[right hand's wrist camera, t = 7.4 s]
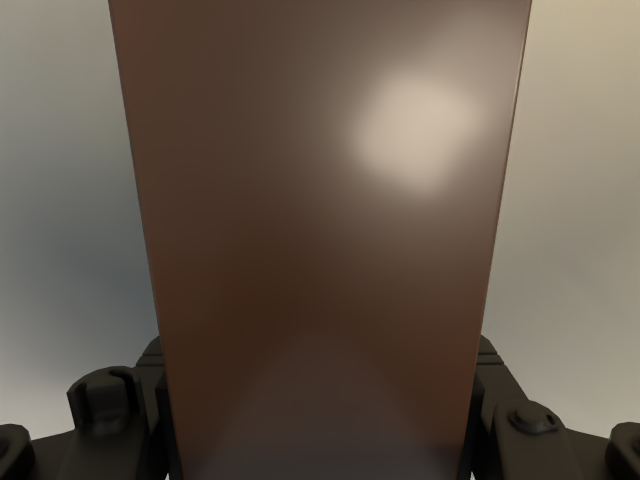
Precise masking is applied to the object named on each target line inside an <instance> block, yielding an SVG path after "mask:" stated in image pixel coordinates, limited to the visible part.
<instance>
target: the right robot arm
mask: <svg viewBox="0 0 640 480" xmlns="http://www.w3.org/2000/svg"><path fill="white" fill-rule="evenodd" d="M67 397H68V401H69V405H70V409H71V413H72V417H73V420H74V424H75V429H74V430H72V431H68V432H65V433H61V434H57V435H53V436H49V437H44V438H40V439H36V440H32V441H31V438H30V435H29V432H28V430H27V429H25V428H24V427H23V426H22V425H16V424H5V425H0V480H165V479H166V476H167V474H169V480H182V478H181V472H180V465H179V459H178V452H177V446H176V439H175V433H174V426H173V420H172V413H171V407H170V400H169V394H168V387H167V381H166V374H165V368H164V361H163V354H162V348H161V341H160V335H159V336H158V337H157V338H155V339H154V340H152V341H151V342H150V344H149V345H148V347H147V348H146V350H145V351H144V353H143V356H141V357H140V359H139V360H138V362H137V363H136V367H134V368H130V367H126V366H111V367H107V368H103V369H99V370H96V371H94V372H92V373H89V374H87V375H85V376H83V377H82V378H81V379H79V380H78V381H77V382H75V383H74V384H73V385H72V386H71V388H70V389H69V390H68V392H67ZM471 472H473V475H474V477H475V480H640V423H634V422H625V423H619V424H617V425H616V426H615V427H614V428H613V429H612V431H611V434H610V437H609V439H607V438H603V437H599V436H594V435H590V434H586V433H582V432H577V431H574V430H571V429H567V428H565V426H564V425H563V423H562V421H561V420H560V418H559V417H558V416H557V415H556V414H554V413H553V412H552V411H551V410H550V409H549V408H547V407H545V406H543V405H541V404H539V403H537V402H534V401H531V400H529V399H528V398H527V396H526V395H525V393H524V392H523V390H522V389H521V387H520V386H519V384H518V383H517V381H516V380H515V378H514V377H513V375H512V374H511V372H510V371H509V369H508V368H507V366H506V365H504V362H503V360H502V359H501V357H500V356H499V355H497V351H496V350H495V348H494V347H493V345H492V344H491V342H490V341H489V340H488V339H487V338H485V337H484V336H482V335H480V342H479V348H478V355H477V361H476V368H475V374H474V381H473V387H472V393H471V400H470V406H469V413H468V419H467V426H466V432H465V439H464V445H463V452H462V458H461V465H460V471H459V478H458V480H470V479H471Z"/></svg>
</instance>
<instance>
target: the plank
mask: <svg viewBox="0 0 640 480" xmlns="http://www.w3.org/2000/svg"><path fill="white" fill-rule="evenodd" d="M108 3H109V9H110V16H111V22H112V29H113V35H114V42H115V48H116V55H117V61H118V68H119V74H120V81H121V87H122V94H123V101H124V107H125V114H126V120H127V127H128V133H129V140H130V146H131V153H132V159H133V166H134V172H135V179H136V185H137V192H138V198H139V205H140V211H141V218H142V224H143V231H144V237H145V244H146V250H147V257H148V263H149V270H150V276H151V283H152V289H153V296H154V302H155V309H156V315H157V322H158V328H159V335H160V341H161V348H162V354H163V361H164V368H165V374H166V381H167V387H168V394H169V400H170V407H171V413H172V420H173V426H174V433H175V439H176V446H177V452H178V459H179V465H180V472H181V478H182V480H458V478H459V471H460V465H461V458H462V452H463V445H464V439H465V432H466V426H467V419H468V413H469V406H470V400H471V393H472V387H473V381H474V374H475V368H476V361H477V355H478V348H479V342H480V335H481V329H482V322H483V316H484V309H485V303H486V296H487V290H488V283H489V277H490V270H491V264H492V257H493V251H494V244H495V238H496V231H497V225H498V218H499V212H500V205H501V199H502V192H503V186H504V179H505V173H506V166H507V160H508V154H509V147H510V141H511V134H512V128H513V121H514V115H515V108H516V102H517V95H518V89H519V82H520V76H521V69H522V63H523V56H524V50H525V43H526V37H527V30H528V24H529V17H530V11H531V4H532V0H108Z"/></svg>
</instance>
